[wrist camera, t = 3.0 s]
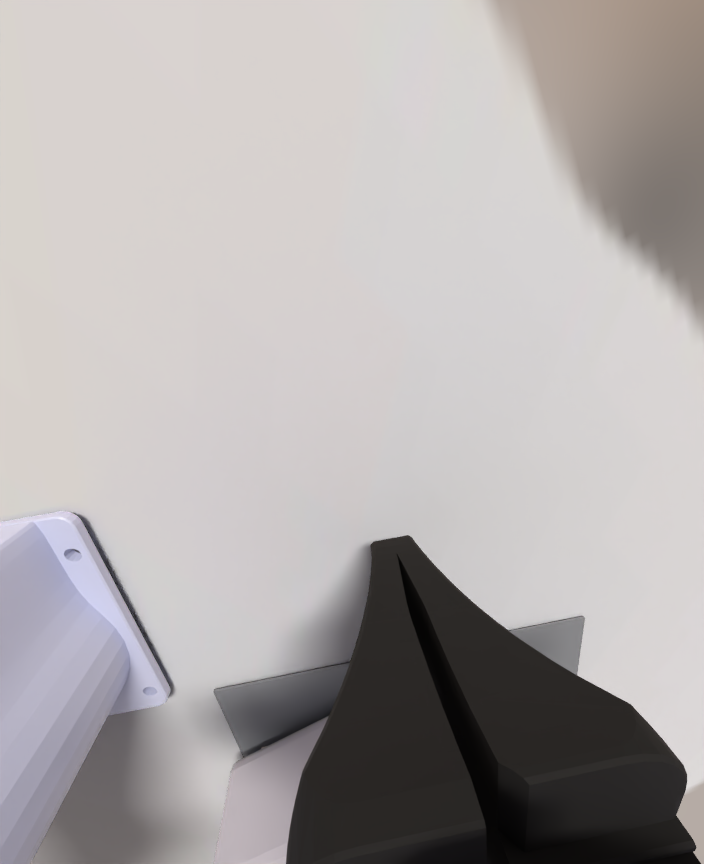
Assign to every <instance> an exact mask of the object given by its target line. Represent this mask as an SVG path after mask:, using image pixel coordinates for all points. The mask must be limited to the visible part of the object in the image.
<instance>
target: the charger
mask: <svg viewBox="0 0 704 864" xmlns="http://www.w3.org/2000/svg"><path fill="white" fill-rule="evenodd" d="M328 717H329V716H327V717H325V718H323V719H321V720H319V721H317V722H315V723H313V724H311V725H309V726H307V727H305V728H303V729H301V730H299V731H297V732H295V733H293V734H291V735H289V736H287V737H285V738H283V739H281V740H279V741H277V742H275V743H273V744H271V745H269V746H267V747H265V748H263V749H260V750H258V751H256V752H254V753H252V754H250V755H248V756H246V757H244V758H242V759H240V760H238V761H237V762H236V763H235V764H234V765H233V768H232V770H231V774H230V779H229V785H228V790H227V795H226V800H225V805H224V811H223V816H222V821H221V826H220V831H219V837H218V842H217V847H216V852H215V857H214V863H213V864H286V855H287V844H288V838H289V830H290V824H291V818H292V813H293V808H294V804H295V799H296V795H297V791H298V787H299V782H300V778H301V775H302V771H303V769H304V767H305V765H306V763H307V761H308V758H309V756H310V754H311V752H312V750H313V748H314V746H315V744H316V742H317V740H318V738H319V736H320V734H321V732H322V730H323V728H324V726H325V724H326V721H327V719H328Z"/></svg>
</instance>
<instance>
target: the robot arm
mask: <svg viewBox="0 0 704 864" xmlns="http://www.w3.org/2000/svg"><path fill="white" fill-rule="evenodd" d="M74 549H76V550H78V551H79V552H80V553H78V552H76V551H75V550H74ZM371 551H372V566H371V577H370V585H369V592H368V597H367V602H366V607H365V612H364V617H363V621H362V625H361V629H360V632H359V636H358V639H357V643H356V646H355V649H354V652H353V655H352V658H351V661H350V664H349V667H348V670H347V673H346V675H345V678H344V681H343V683H342V686H341V688H340V691H339V693H338V695H337V698H336V700H335V703H334V705H333V707H332V710H331V712H330V715H329V717H328V719H327V721H326V724H325V726H324V728H323V730H322V732H321V734H320V736H319V738H318V740H317V742H316V744H315V746H314V748H313V750H312V752H311V754H310V756H309V758H308V761H307V763H306V765H305V767H304V769H303V771H302V775H301V778H300V782H299V787H298V791H297V795H296V799H295V804H294V808H293V813H292V818H291V824H290V830H289V838H288V844H287V855H286V864H701V863H700V862H699V860H698V859H697V858H696V856H695V854H694V853H693V851H695V849H696V845H695V843H694V841H693V839H692V837H691V836H690V835H689V833H688V832H687V830H686V829H685V828H684V826H683V825H682V823H681V822H680V820H679V819H678V818H677V816H676V813H677V811H678V809H679V806H680V803H681V801H682V798H683V796H684V793H685V790H686V784H687V773H686V771H685V768H684V766H683V764H682V763H681V762H680V760H679V759H678V758H677V757H676V755H675V754H674V753H673V752H672V750H671V749H670V748H669V747H668V745H667V744H666V743H665V742H664V740H663V739H662V738H661V737H660V736H659V735H658V734H657V732H656V731H655V730H654V729H653V728H652V727H651V726H650V725H649V724H648V722H647V721H646V720H645V719H644V718H643V717H642V716H641V715H640V714H639V713H638V712H637V711H636V710H635V709H634V708H633V706H632V705H631V704H629V703H627V702H625V701H623V700H621V699H620V698H618V697H616V696H614V695H612V694H610V693H608V692H607V691H605V690H603V689H601V688H599V687H597V686H595V685H594V684H592V683H590V682H588V681H586V680H584V679H582V678H581V677H579V676H577V675H575V674H574V673H572V672H570V671H569V670H567V669H566V668H564V667H562V666H561V665H559V664H557V663H556V662H554V661H552V660H551V659H549V658H548V657H546V656H545V655H543V654H542V653H540V652H539V651H537V650H536V649H534V648H533V647H531V646H530V645H528V644H527V643H525V642H524V641H522V640H521V639H519V638H518V637H516V636H515V635H514V634H512V633H511V632H510V631H508V630H507V629H506V628H504V627H503V626H502V625H500V624H499V623H498V622H496V621H495V620H494V619H493V618H491V617H490V616H489V615H488V614H486V613H485V612H484V611H483V610H481V609H480V608H479V607H478V606H477V605H475V604H474V603H473V602H472V601H471V600H470V599H469V598H468V597H466V596H465V595H464V594H463V593H462V592H461V591H460V590H459V589H458V588H457V587H456V586H455V585H454V584H453V583H452V582H450V581H449V580H448V578H447V577H446V576H445V575H444V574H443V573H442V572H441V571H440V570H439V569H438V568H437V567H436V566H435V565H434V564H433V563H432V562H431V561H430V559H429V558H428V557H427V556H426V555H425V554H424V553H423V551H422V550H421V549H420V548H419V546H418V545H417V544H416V543H415V541H414V540H413V538H412V537H410V536H409V535H407V536H402V537H397V538H391V539H386V540H381V541H375V542H373V543H372V544H371ZM170 691H171V690H170V686H169V685H168V683H167V681H166V679H165V677H164V675H163V673H162V671H161V669H160V668H159V666H158V664H157V662H156V660H155V658H154V656H153V654H152V652H151V651H150V649H149V647H148V645H147V643H146V641H145V639H144V637H143V636H142V634H141V632H140V630H139V628H138V626H137V624H136V622H135V620H134V619H133V617H132V615H131V613H130V611H129V609H128V607H127V605H126V603H125V602H124V600H123V598H122V596H121V594H120V592H119V590H118V588H117V586H116V585H115V583H114V581H113V579H112V577H111V575H110V573H109V571H108V569H107V568H106V566H105V564H104V562H103V560H102V558H101V556H100V554H99V552H98V551H97V549H96V547H95V545H94V543H93V541H92V539H91V537H90V535H89V534H88V532H87V530H86V528H85V526H84V524H83V522H82V521H81V519H80V518H79V517H78V516H77V515H75V514H73V513H71V512H67V511H59V512H53V513H48V514H42V515H36V516H31V517H25V518H19V519H14V520H8V521H3V522H0V864H31V862H32V860H33V858H34V856H35V854H36V852H37V850H38V848H39V846H40V844H41V843H42V841H43V839H44V837H45V835H46V833H47V831H48V829H49V827H50V825H51V823H52V822H53V820H54V818H55V816H56V814H57V812H58V810H59V808H60V806H61V804H62V802H63V801H64V799H65V797H66V795H67V793H68V791H69V789H70V787H71V785H72V783H73V781H74V780H75V778H76V776H77V774H78V772H79V770H80V768H81V766H82V764H83V762H84V760H85V758H86V757H87V755H88V753H89V751H90V749H91V747H92V745H93V743H94V741H95V739H96V737H97V736H98V734H99V732H100V730H101V728H102V726H103V724H104V722H105V720H106V718H107V716H110V715H115V714H120V713H125V712H130V711H135V710H140V709H145V708H150V707H155V706H159V705H162V704H164V703H165V702H166V701H167V699H168V696H169V694H170Z"/></svg>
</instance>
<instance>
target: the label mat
mask: <svg viewBox="0 0 704 864" xmlns="http://www.w3.org/2000/svg"><path fill="white" fill-rule="evenodd" d="M584 620H585V618H584V616H581V617H576V618H571V619H566V620H561V621H556V622H551V623H546V624H541V625H536V626H531V627H526V628H521V629H516V630H511V631H510V632H511V633H512V634H514V635H515V636H516V637H518V638H519V639H521V640H522V641H524V642H525V643H527V644H528V645H530V646H531V647H533V648H534V649H536V650H537V651H539V652H540V653H542V654H543V655H545V656H546V657H548V658H549V659H551V660H552V661H554V662H556V663H557V664H559V665H561V666H562V667H564V668H566V669H567V670H569V671H570V672H572V673H574V674H575V675H577V671H578V664H579V657H580V649H581V642H582V635H583V628H584ZM349 664H350V663H345V664H340V665H335V666H330V667H325V668H320V669H315V670H310V671H305V672H300V673H295V674H290V675H285V676H280V677H274V678H269V679H264V680H259V681H254V682H249V683H244V684H239V685H234V686H229V687H224V688H219V689H214V694H215V696H216V698H217V700H218V703H219V705H220V707H221V709H222V711H223V713H224V716H225V718H226V720H227V722H228V724H229V726H230V729H231V731H232V733H233V735H234V737H235V739H236V742H237V744H238V746H239V748H240V750H241V752H242V755H243V757H246V756H248V755H250V754H252V753H254V752H256V751H258V750H260V749H263V748H265V747H267V746H269V745H271V744H273V743H275V742H277V741H279V740H281V739H283V738H285V737H287V736H289V735H291V734H293V733H295V732H297V731H299V730H301V729H303V728H305V727H307V726H309V725H311V724H313V723H315V722H317V721H319V720H321V719H323V718H325V717H327V716H329V715H330V712H331V710H332V707H333V705H334V703H335V700H336V698H337V695H338V693H339V691H340V688H341V686H342V683H343V681H344V678H345V675H346V673H347V670H348V667H349Z"/></svg>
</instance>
